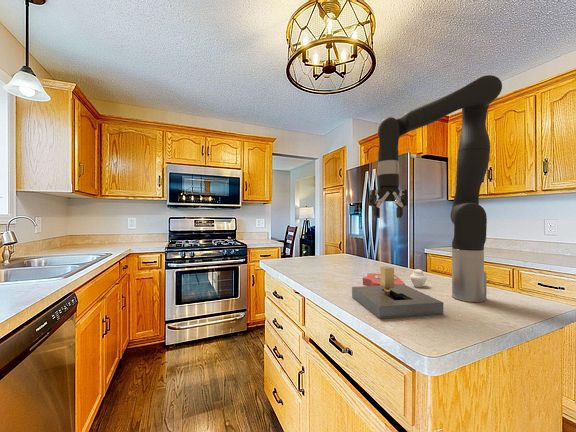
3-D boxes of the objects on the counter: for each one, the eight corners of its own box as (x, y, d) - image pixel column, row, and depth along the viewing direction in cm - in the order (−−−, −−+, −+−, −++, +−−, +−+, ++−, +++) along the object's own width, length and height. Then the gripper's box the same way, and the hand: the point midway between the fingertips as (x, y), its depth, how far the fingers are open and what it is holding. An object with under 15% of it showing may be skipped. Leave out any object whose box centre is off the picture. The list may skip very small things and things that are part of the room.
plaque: (360, 271, 121) (394, 272, 118) (360, 280, 121) (394, 281, 118) (365, 281, 103) (406, 283, 101) (365, 291, 103) (406, 293, 101)
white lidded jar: (420, 283, 112) (420, 267, 112) (430, 287, 106) (430, 270, 106) (406, 284, 111) (406, 267, 111) (415, 288, 105) (415, 270, 105)
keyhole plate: (403, 294, 98) (403, 284, 98) (443, 314, 78) (443, 302, 78) (352, 297, 95) (352, 286, 95) (379, 319, 75) (379, 306, 75)
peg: (390, 298, 93) (389, 265, 93) (398, 303, 88) (398, 268, 88) (376, 299, 92) (376, 266, 92) (384, 303, 88) (384, 269, 87)
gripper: (400, 175, 103) (400, 217, 104) (365, 175, 101) (365, 217, 101) (412, 173, 96) (412, 217, 96) (374, 172, 94) (375, 218, 94)
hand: (388, 217), depth 99 cm, fingers open, 8 cm apart
